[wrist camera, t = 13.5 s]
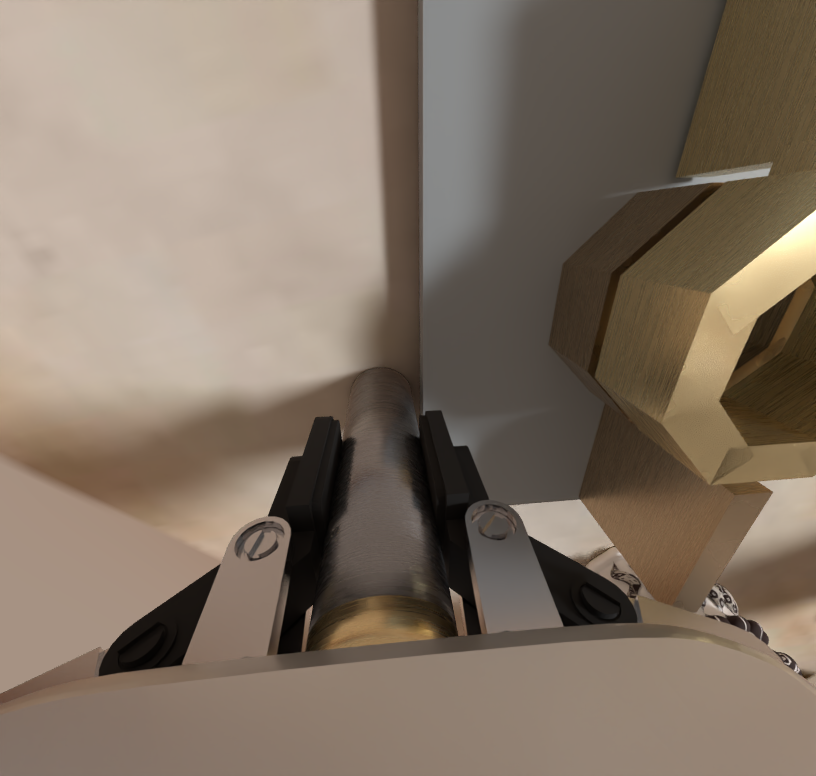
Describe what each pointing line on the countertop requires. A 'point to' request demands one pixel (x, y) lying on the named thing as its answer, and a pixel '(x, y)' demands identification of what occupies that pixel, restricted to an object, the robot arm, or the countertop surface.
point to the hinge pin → (381, 530)
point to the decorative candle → (714, 607)
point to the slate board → (536, 203)
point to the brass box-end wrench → (732, 266)
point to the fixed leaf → (630, 448)
